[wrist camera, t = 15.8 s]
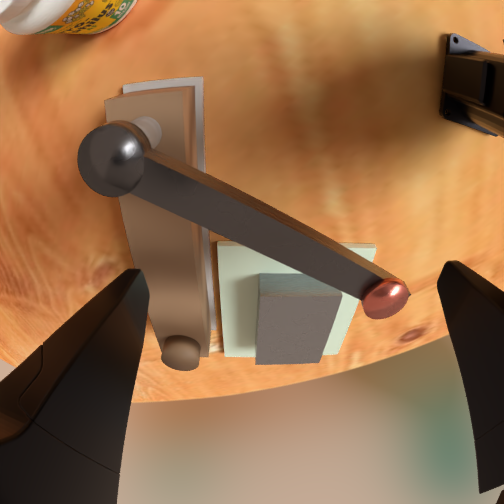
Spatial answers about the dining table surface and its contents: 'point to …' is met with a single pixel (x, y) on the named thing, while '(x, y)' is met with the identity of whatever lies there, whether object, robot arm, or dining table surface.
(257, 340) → the flat grey slab block
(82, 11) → the supplement bottle
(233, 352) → the mat
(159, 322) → the body
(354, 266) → the lever
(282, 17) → the dining table surface
